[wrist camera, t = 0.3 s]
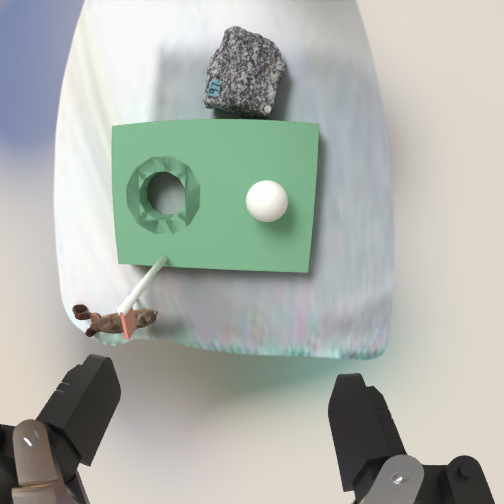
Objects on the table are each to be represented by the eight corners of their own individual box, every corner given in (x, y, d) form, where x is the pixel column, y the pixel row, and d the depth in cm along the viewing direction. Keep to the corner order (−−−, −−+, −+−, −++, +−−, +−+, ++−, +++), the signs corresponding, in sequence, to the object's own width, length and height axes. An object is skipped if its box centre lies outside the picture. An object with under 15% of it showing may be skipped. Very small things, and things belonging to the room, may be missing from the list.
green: (121, 127, 29) (112, 126, 27) (314, 126, 29) (319, 124, 27) (126, 256, 35) (118, 263, 32) (304, 264, 34) (307, 272, 32)
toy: (129, 309, 44) (176, 327, 33) (86, 338, 38) (119, 370, 28) (113, 280, 42) (156, 288, 32) (69, 308, 36) (93, 330, 26)
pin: (161, 254, 32) (116, 307, 20) (167, 254, 32) (125, 308, 20) (162, 279, 33) (122, 338, 21) (169, 279, 33) (131, 340, 21)
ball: (247, 177, 29) (245, 181, 25) (287, 179, 29) (291, 183, 25) (246, 216, 30) (244, 225, 26) (284, 218, 30) (288, 227, 26)
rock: (294, 48, 26) (299, 35, 22) (267, 126, 30) (268, 122, 26) (229, 31, 26) (225, 16, 22) (200, 108, 29) (192, 102, 25)
